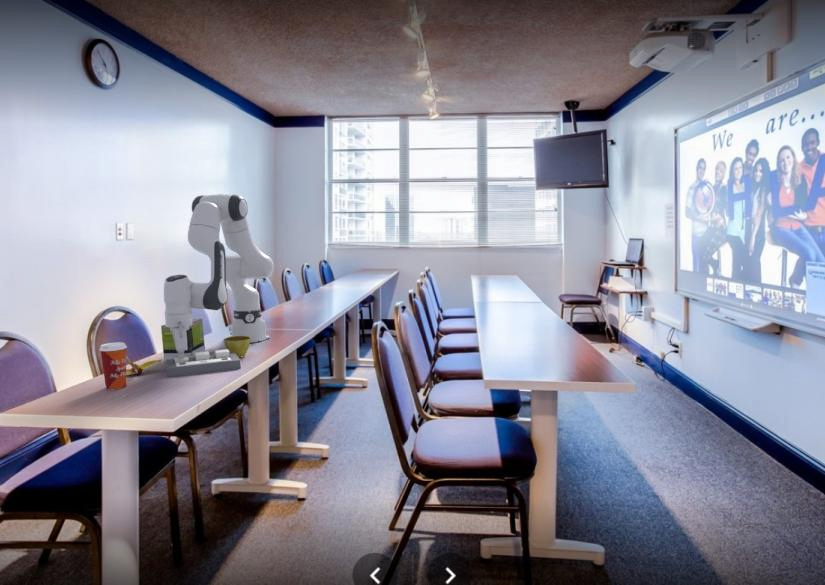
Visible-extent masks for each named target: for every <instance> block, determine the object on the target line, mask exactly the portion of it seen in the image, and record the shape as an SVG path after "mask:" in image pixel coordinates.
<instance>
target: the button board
mask: <svg viewBox="0 0 825 585" xmlns="http://www.w3.org/2000/svg"><path fill="white" fill-rule="evenodd" d="M209 356H210V359H208V360H199V361H195V357H188V358H189V362H181V363H175V362H174V359H169V360H166V363H165V364H166V373H167V375H168V376H172V377H178V376H177V375H180V376H187V375H186V374H188V375H194V373H197V374H203V373H202V372H205V373H211V372H210V371H213V372H221V371H220V370H222V371H228V370H227V369H230V370H235V369H234V368H238V369H241V368H242V364H241V358H240V357H238V356H237V355H236V353H235V352H234V353H230V357H226V358H217V359H216V358H215V354H209ZM168 376H167V377H168Z"/></svg>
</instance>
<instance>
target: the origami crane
mask: <svg viewBox="0 0 825 585" xmlns="http://www.w3.org/2000/svg"><path fill="white" fill-rule="evenodd" d="M126 361H127V363H128V364H129V365H130V366H131V368H128V369H127V368H126V375H131V374H136V372H137V374H136V375H137V376H142V374H143V371H145V370H147V369H149V368H151V367H152V366H153V365H156V364H158V363H160V362H162V361H163V359H161V358H160V359H156V360H155V359H154V360H150V361H147V362H143V363H142V364H141V365H140V364H137V363H134V362H133V361H131V360H130V357H128V355H126Z"/></svg>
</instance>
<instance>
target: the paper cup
mask: <svg viewBox="0 0 825 585" xmlns="http://www.w3.org/2000/svg"><path fill="white" fill-rule="evenodd" d="M127 348H128V346H127V345H126V343H125V342H121V341H118V342H108V343H103V344H101V345H100V348H99V350H98V351H100V357H101V362H102V370H103V376H104V383H105V387H106V390H107V389H117V390H120V389H119V388H122V389H124V388H126V387H127V374H126V370H127V359H126V356H127ZM125 386H126V387H125ZM123 387H124V388H123Z"/></svg>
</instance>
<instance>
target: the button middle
mask: <svg viewBox="0 0 825 585" xmlns="http://www.w3.org/2000/svg"><path fill="white" fill-rule="evenodd" d="M209 355H210V352H209V351H208V350H207V351H206V350H205V352H196V353H195V361H199V360H208V359H210V356H209Z"/></svg>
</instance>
